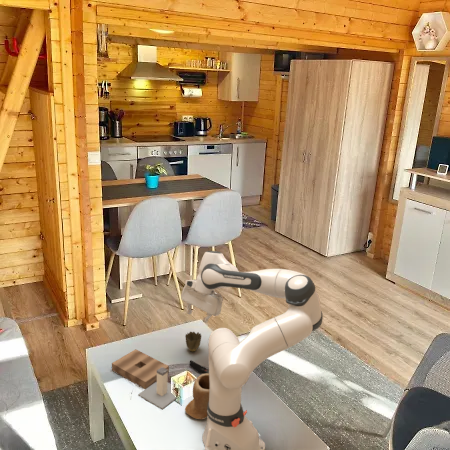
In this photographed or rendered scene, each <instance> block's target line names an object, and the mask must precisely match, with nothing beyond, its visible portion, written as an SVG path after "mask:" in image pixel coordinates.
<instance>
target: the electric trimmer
mask: <svg viewBox="0 0 450 450" xmlns="http://www.w3.org/2000/svg"><path fill="white" fill-rule="evenodd" d="M189 367H190V368H192V369H193V370H194V371H195V372H196V373H198V374H206V373H208V374H209V368H207V367H205V366H203V365H201V364H199V363H197V362H195V361H193V360H192V359H191V360H189Z"/></svg>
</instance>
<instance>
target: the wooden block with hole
mask: <svg viewBox="0 0 450 450" xmlns="http://www.w3.org/2000/svg"><path fill="white" fill-rule="evenodd" d="M161 367H163V368H165V369H167V370H168V374H170V367H169V365H167V364H165V363H163V362H162V361H160V360H157V359H156V358H154V357H152V356H150V355H148V354H146V353H144V352H143V351H140V350H138V349H134V350H132V351H129V352H128V353H127V354H125V355H123V356H121V357H120V358H119V359H118V358H117V360H115V361H113V362H112V363H111V370H112V371H113V372H114V373H116V374H117V375H119V376H120V377H123V378H125V379H127V380H128V381H130V382H132V383H133V384H135V385H137V386H139V387H140V388H142V389H143V390H145V389H147V388H148V387H149V386H151V385H152V384H154V383H155V382H157V370H158V369H160V368H161Z"/></svg>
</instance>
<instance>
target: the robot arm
mask: <svg viewBox="0 0 450 450" xmlns="http://www.w3.org/2000/svg"><path fill="white" fill-rule="evenodd" d="M184 284H185V285H184V287H183V288H182V291H181V295H180V299H181V301H183V302H185V303H186V304H185V305H186V314H188V315H192V312H193V310H192V306H193V307H196V308H197V309H199V310H200V311H203V312H205V313H206V316H205V317H203V318H202V322H203V323H205V324H206V323H208V322H209V320H210V318H211V317H212V316H213V317H216V316H220V315H221V312H222V306H223V301H224V297H223V296H222V294H221V293H219V292H216V289H224V288H226V289H227V288H234V289H235V288H237V289H243V290H248V291H251V292H255V293H259V294H261V295H266V296H270V297H272V298H273V297H274V298H279V299H284V300H285V302H286V304H287V305H288V308H287V310H286V311H285V312H283V313H282V314H279V315H276V316H274V317H272V318H269V319H267V320H266V321H265V320H264V321H263V322H261V323H259V324H257V325H254V326H253V327H252V328H251V329H250V332H249V334H248V335H247V336H246V337H245V338H244V339H242V340H241V341H240V340H239V337H237V335H236V334H235V333H234V332H233V331H232V330H231V329H229V328H227V327H219V328H217V329H215V330H213V331H212V332H211V333H210V334H209V338H208V342H207V343H208V348H207V349H208V369H209V381H210V389H209V401H208V406H207V415H208V416H207V417H206V418H207V419H206V425H205V428H204V431H203V432H202V443H203V444H204V450H266V443H265V442H264V441H263V439H261V438H260V435H259V432H258V429H257V428H255V426H254V423H253V421H252V420H250V419H248V417H246V414H247V413H248V411H247V409H246V410H245V411H244V409H243V406H242V390H243V386H244V385H246V383H247V382H248V381H249V379H250V376H251V374H252V372H253V371H254V370H256V368H257V367H258V366H260V365H261V364H262V363H263V362H264V361H265V360H267V359H269V358H270V357H273V356H274V355H277V354H279V353H281V352H283V351H285V350H287V349H289V348H292V347H293V346H295V345H298V344H299V343H301V342H302V341H304V340H305V339H307V338H308V337H309V336H310V335H311V334H312V332H314V331H316V330H318V329H319V328H320V327H321V326H322V323H323V318H324V317H323V312H322V308H321V307H322V306H321V303H320V297H319V294H318V292H317V289H316V285H315V282H314V281H313V279H311V277H309V275H307V274H305V273H303V272H299V271H296V270H291V269H285V268H266V269H260V270H253V271H239V268H238V267H237V266H235V265H233V264H232V263H231V262H229V261H228V259H226V257H225V256H224V254H223V252H221V251H216V250H207V251H204V254H203V256H202V257H201V260H200V263H199V268H198V274H197V276H196V279H186V280H185V283H184Z"/></svg>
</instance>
